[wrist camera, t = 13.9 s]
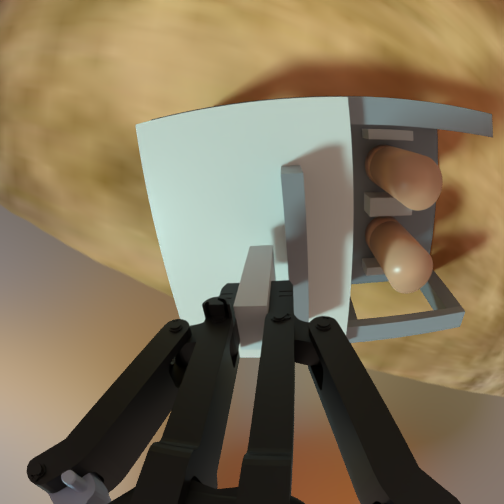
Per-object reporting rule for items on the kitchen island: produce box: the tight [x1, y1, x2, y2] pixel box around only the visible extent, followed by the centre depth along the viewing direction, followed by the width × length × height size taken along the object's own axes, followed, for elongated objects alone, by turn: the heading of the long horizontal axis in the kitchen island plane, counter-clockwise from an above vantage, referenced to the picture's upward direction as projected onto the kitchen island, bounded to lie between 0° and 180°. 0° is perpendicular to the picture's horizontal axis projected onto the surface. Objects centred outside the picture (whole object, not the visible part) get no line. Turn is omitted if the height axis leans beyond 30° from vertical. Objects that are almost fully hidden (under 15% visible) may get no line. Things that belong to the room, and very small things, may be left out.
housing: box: [152, 96, 493, 343], centre depth 25 cm, size 21×27×11 cm
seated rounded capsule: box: [365, 216, 433, 293], centre depth 26 cm, size 5×5×9 cm
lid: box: [136, 97, 353, 357], centre depth 19 cm, size 21×14×4 cm
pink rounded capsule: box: [365, 145, 442, 211], centre depth 23 cm, size 5×5×9 cm
